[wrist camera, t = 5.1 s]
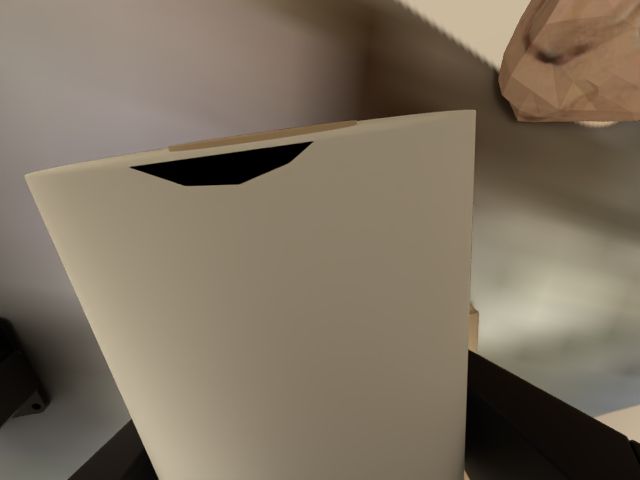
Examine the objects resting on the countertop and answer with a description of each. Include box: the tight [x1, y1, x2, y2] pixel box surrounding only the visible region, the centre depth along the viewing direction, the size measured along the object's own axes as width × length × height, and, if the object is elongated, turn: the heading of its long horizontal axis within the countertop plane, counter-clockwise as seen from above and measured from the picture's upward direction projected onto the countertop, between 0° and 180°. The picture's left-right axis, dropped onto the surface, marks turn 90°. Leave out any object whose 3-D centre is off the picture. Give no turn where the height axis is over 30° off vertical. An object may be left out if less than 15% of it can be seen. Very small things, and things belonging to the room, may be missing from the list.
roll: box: [24, 110, 476, 480], centre depth 6 cm, size 10×5×5 cm, turn 7°
